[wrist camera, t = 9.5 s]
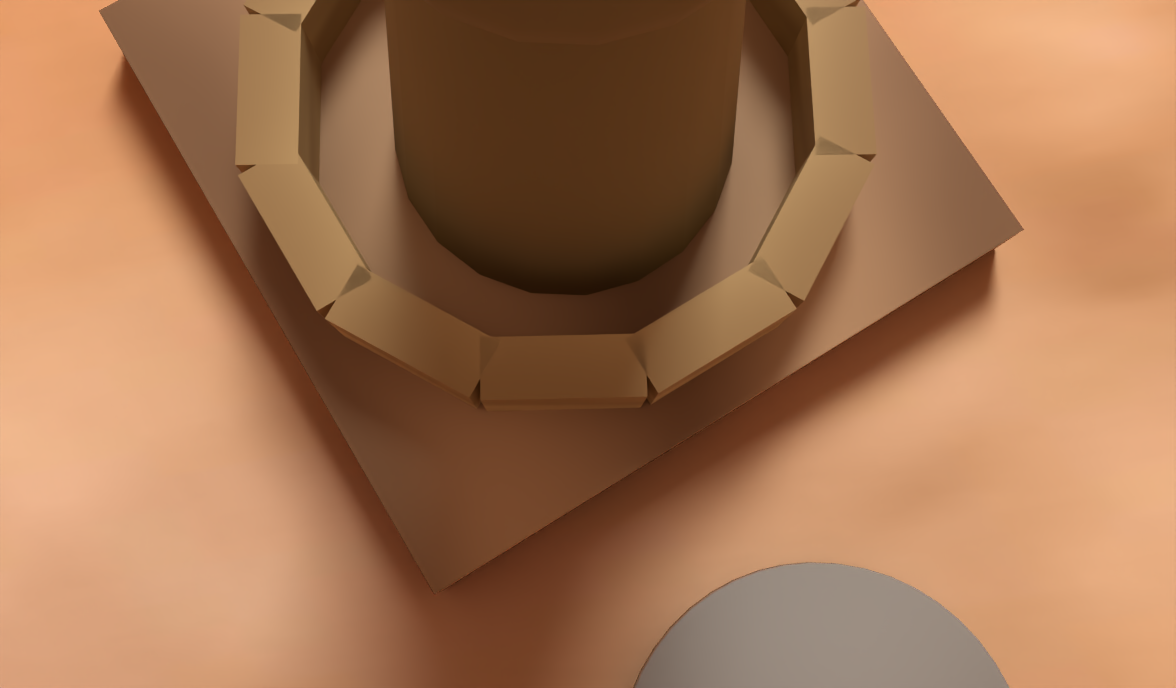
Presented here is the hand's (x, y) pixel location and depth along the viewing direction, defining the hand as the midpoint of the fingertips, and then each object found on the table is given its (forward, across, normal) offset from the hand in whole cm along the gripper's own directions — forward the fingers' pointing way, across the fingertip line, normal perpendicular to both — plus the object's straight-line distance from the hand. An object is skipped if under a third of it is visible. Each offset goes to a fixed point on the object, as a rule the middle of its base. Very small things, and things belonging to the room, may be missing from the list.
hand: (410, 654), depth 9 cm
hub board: (+13, 0, +1) cm, 13 cm away
